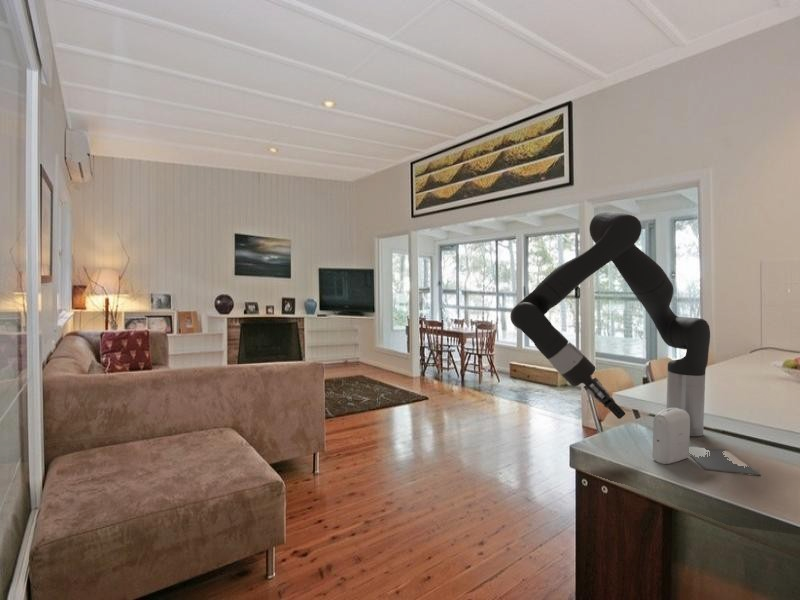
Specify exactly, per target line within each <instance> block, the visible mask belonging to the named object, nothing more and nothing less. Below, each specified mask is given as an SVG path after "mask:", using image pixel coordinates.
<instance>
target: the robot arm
mask: <svg viewBox="0 0 800 600" xmlns="http://www.w3.org/2000/svg"><path fill="white" fill-rule="evenodd" d="M641 234H642V224H641V221H640V220H639V219H638V217H636V216H635V215H633V214H629V213H625V212H619V211H613V210H606V211H605V210H604V211H601V212H598V213H596V214H595V215H594V216H593V217H592V219H591V220H590V225H589V235H590V237H591V239H592V241H593V242H594V243H595V244H594V245H593V246H592V247H590V248H589V249H588V250H586V251H585V252H583V253H581V254H579V255H578V256H576V257H573V258H572V259H570V260H568V261H566V262H564V263H562V264H561V265H560V266H558V267H555V269H554V270H552V271H551V272H550V273H549V274H548V275H547V276H546V277H545V278H544V279H543V280H542V281H540V282H539V283H538V285H537V286H536V287H535V288H534V290H533V291H532V292H530V293H528V294H527V296H525V297H524V298H523V299H522V300H521V301H519V303H517V304H516V305H515V306H514V307H513V308H512V309H511V312H510V321H511V323H512V324H513V326H514V327H515V328H516V329H519V330H521V332H522V333H524V335H525V336H527V337H528V339H529V340H531V341H532V343H533V344H534V346H535V347H536V349H537V350H538V351H539V352H540V353H541V354H542V355H543V356H544V357H545V358H546V360H548V362H549V363H550V364H551V365H552V367H553V368H554V369H555V370H556V371H557V372H558V373H559V374H560V376H562V377H563V378H564V380H565V381H567V383H568V384H570V386H571V387H579V386H580V385H581V384H584V386H583V389H584V390H585V391H586V392H587V394H589V395H591V396H592V398H594V399H595V400H596V402H598V403H601V404H602V405H603V406H604V408H606V409H609V411H610V412H611V413H612V414H613V415H614V416H615V417H616V418H617V419H618V420H619V419H622V418H623V417H624V416H625V415H626V412H625V411H624V410H623V408H621V407H620V406H619V404H617V403H616V401H615V399H614V398H613V397H612V396H610V394H611V393H610V392H609V391H608V390H607V389H606V388H605V386H604V385H603V384H602V382H601V381H599V379H598V378H597V377H596V376H595V377H594V378H592V375H594V372H596V366H595V365H594V364H593V362H591V361H590V360H589V359H588V358H587V357H586V356H585V354H583V352H582V351H581V350H579V348H577V347H576V346H575V345H574V344H573V343H572V342H570V341H569V340H568V339H567V338H566V337H565V336H564V335H563V333H561V332H560V331H559V330H558V329H557V328H556V327H555V326H554V325H553V324H552V322H551V321H550V320H549V319H548V317H546V314H547V313H548V312H549V311H550V310H551V309H552V308H555V307H556V306H557V305H559V304H560V303H561V302H562V301H563V300H564V299H565V298H566V297H567V296H568V295H570V294H571V293H572V292H573V290H575V289H576V288H577V287H578V286H579V285H580V284H582V283H583V282H584V281H585V280H586V279H588V278H589V277H590V276H592V275H593V274H594V273H596V272H597V271H599V270H600V269H601V268H603V267H605V266H606V265H608V264H609V263H613V264H614V266H615V268H616V269H617V271H618V272H619V274H620V275H621V277H622V278H623V280H624V281H625V283H626V284H627V286H628V287H629V289H630V290H631V292H633V294H634V296H635V297H636V299H637V300H638V301H639V303H640V304H641V305H642V307H643V308H644V309H645V311H646V312H647V314H648V316H649V317H650V318H651V321H652V322H653V325H654V326H655V328H656V330H657V331H658V333H659V335H660V337H661V339H662V340H663V342H664V343H665V344H666V345H667V346H668V347H671V348H674V349H681V350H686V352H685V356H684V357H682V358H679V359H673V360H670V361H668V362H667V372H666V373H667V374H666V375H667V376H666V378H667V379H666V382H667V384H666V403H665V404H666V407H665V409H668V408H678V409H682V410H685V411H686V412H687V413H688V414H689V416H690V437H702V436H704V420H705V391H706V370H707V368H708V367H707V366H708V361H709V353H710V352H709V350H710V343H711V341H710V340H711V329H710V325H709V323H708V322H707V321H706V320H705V319H704V318H697V317H696V318H695V317H686V316H685V317H684V316H683V317H682V316H677V315H676V314H675V313H674V312H673V310H672V309H671V307H670V306H671V303H672V300H673V295H674V285H673V283H672V282H671V280H670V278H669V277H668V275H667V273H666V272H665V271H664V270H663V268H662V266H660V265H659V264H658V263H657V262H656V261H654V259H652V257H650V256H649V255H648V254H647V253H645V252H643V251H642V250H641V249H640V248H639V247H637V245H636V243H637V242H638V240H639V239H640V237H641Z"/></svg>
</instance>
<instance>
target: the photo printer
mask: <svg viewBox="0 0 800 600" xmlns="http://www.w3.org/2000/svg"><path fill="white" fill-rule="evenodd" d="M652 423H653V425H652V433H653V434H652V455H651V457H652V459H653V460H654V461H655V462H657V463H659V464H662V465H666V464H668V465H669V464H673V463H676V462H679V461H683V460H685V459H688V458H689V457H690V455H689V446H690V437H691V436H690V416H689V414H688V413H687V412H686V411H685V410H682V409H678V408H668V409H666V408H665V409H663V410H660V411H659V412H658V413H657V414H655V416H654V417H653V421H652Z"/></svg>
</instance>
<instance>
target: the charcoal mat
mask: <svg viewBox="0 0 800 600" xmlns="http://www.w3.org/2000/svg"><path fill="white" fill-rule="evenodd" d="M690 446H691V445H689V447H690ZM705 449H706V450H709V451H710V456H709V452H708V457H707V454H706V455H705V457H703V456H702V457H701V456H699V458H698V457H695V455H694V456H693V455H692V454H690V453H689V454H690V455H691V456H692V457H693V458H694V459H695V460H696V461H697V462H698V463H699V464H698V463H697V462H696V461H695V460H694V459H693V458H692V457H691V456H690V455H689V456H690V457H691V458H692V459H693V460H694V461H695V462H696V463H697V464H698V465H699V466H700V467H701V468H702V469H703V470H704V471H712V472H720V473H721V472H722V473H731V474H732V473H733V474H738V473H743V474H742V475H747V474H751V475H750V476H756V475H759V476H758V477H761V474H760V473H759V472H758V471H756V470H755V469H754V468H752V467H751V466H750V465H748V466H749V467H748V466H747V467H746V466H745V468H744V466H738V465H737V464H733V463H732V461H729V460H727V458H728V457H724V456H725V455H723V453H724V452H723V451H725V450H728V449H726V448H725V449H723V448H714V447H705ZM722 452H723V453H722ZM706 453H707V452H706ZM728 459H729V458H728Z"/></svg>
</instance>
